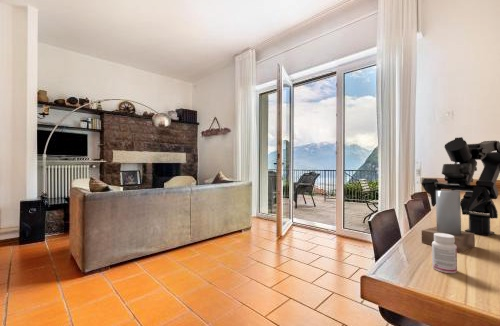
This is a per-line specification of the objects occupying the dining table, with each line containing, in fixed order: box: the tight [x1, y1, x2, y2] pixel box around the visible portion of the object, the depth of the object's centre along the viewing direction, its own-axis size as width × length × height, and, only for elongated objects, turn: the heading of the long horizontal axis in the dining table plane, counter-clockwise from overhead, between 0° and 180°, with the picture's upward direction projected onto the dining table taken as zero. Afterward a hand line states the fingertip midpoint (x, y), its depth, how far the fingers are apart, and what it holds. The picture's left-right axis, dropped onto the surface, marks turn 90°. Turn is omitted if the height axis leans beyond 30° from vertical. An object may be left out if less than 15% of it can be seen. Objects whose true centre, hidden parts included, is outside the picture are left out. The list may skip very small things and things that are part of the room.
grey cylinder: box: [435, 189, 462, 235], centre depth 76 cm, size 6×6×13 cm
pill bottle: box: [431, 233, 458, 274], centre depth 59 cm, size 5×5×8 cm
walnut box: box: [421, 226, 476, 253], centre depth 77 cm, size 10×10×4 cm
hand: (449, 207), depth 77 cm, fingers open, 9 cm apart
